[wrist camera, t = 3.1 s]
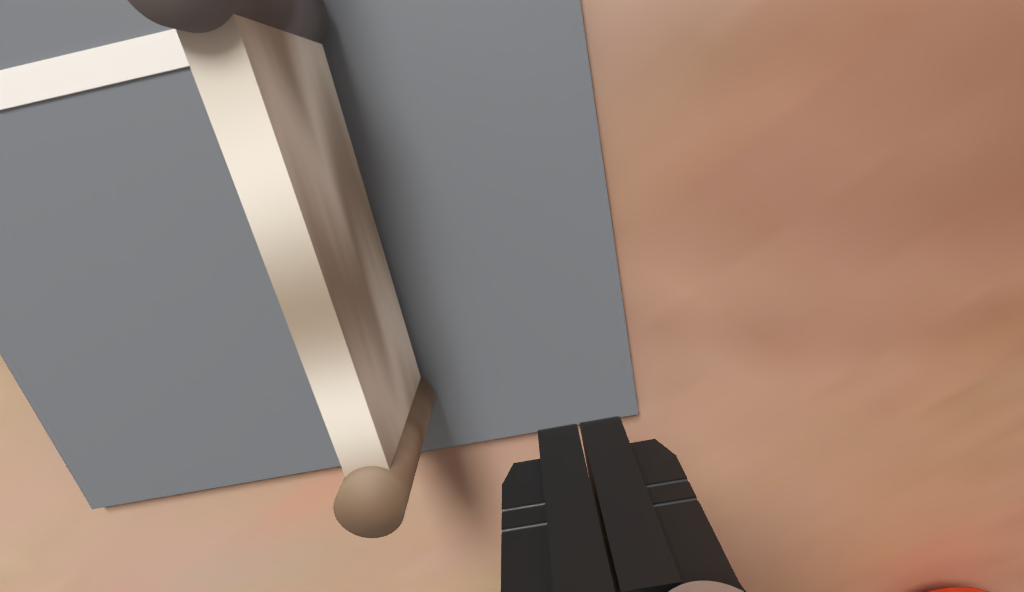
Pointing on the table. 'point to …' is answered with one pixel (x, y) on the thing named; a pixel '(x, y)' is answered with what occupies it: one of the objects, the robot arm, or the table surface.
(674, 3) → the table surface
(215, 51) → the swinging fence section
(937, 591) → the clementine
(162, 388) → the card
